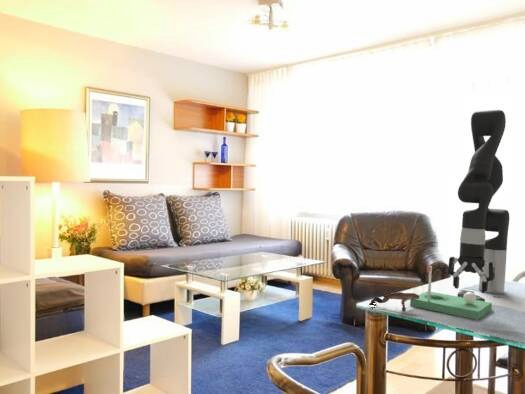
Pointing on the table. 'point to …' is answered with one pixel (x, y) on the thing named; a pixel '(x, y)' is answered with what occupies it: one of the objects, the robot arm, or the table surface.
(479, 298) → the rock
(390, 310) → the table surface
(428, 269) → the pin
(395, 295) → the toy
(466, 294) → the ball
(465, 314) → the green
